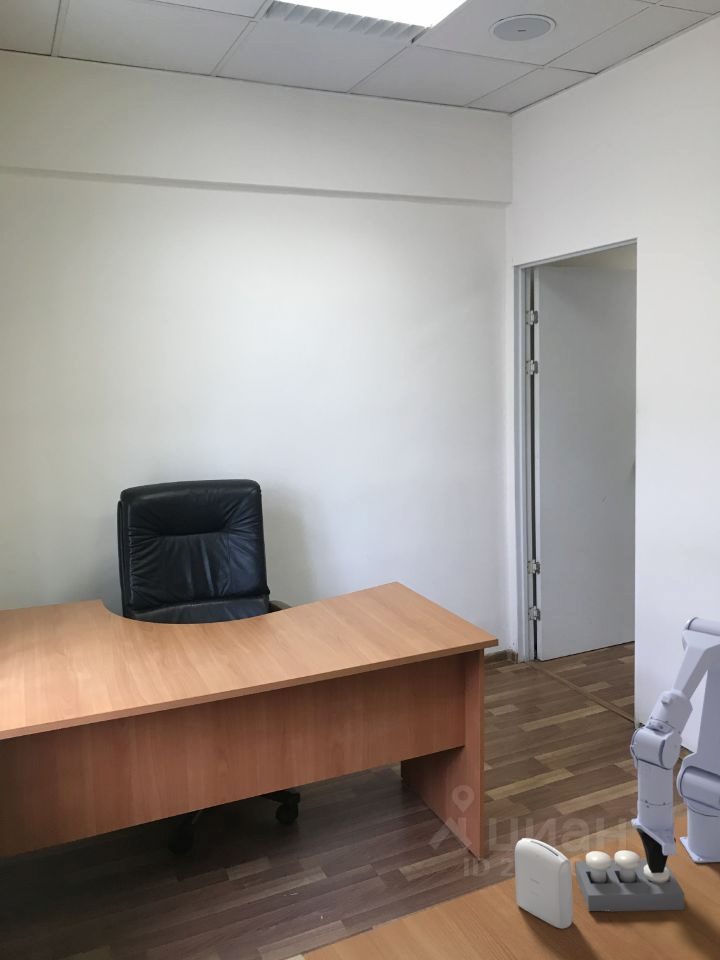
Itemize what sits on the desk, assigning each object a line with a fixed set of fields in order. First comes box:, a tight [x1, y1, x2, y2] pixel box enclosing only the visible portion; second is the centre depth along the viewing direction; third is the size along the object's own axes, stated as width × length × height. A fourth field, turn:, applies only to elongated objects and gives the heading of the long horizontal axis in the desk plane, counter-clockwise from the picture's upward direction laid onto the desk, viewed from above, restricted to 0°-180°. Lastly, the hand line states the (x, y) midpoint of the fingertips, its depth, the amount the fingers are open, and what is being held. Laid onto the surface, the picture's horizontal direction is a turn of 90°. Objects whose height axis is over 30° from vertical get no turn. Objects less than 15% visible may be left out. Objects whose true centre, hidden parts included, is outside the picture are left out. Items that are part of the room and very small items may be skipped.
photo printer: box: [514, 837, 574, 930], centre depth 138 cm, size 10×4×12 cm, turn 39°
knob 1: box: [585, 850, 612, 883], centre depth 142 cm, size 4×4×4 cm
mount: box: [574, 858, 685, 912], centre depth 143 cm, size 16×10×3 cm, turn 88°
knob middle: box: [614, 849, 641, 883], centre depth 142 cm, size 4×4×4 cm
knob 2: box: [644, 864, 669, 883], centre depth 142 cm, size 4×4×4 cm
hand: (656, 871), depth 142 cm, fingers closed, pressing on knob 2
